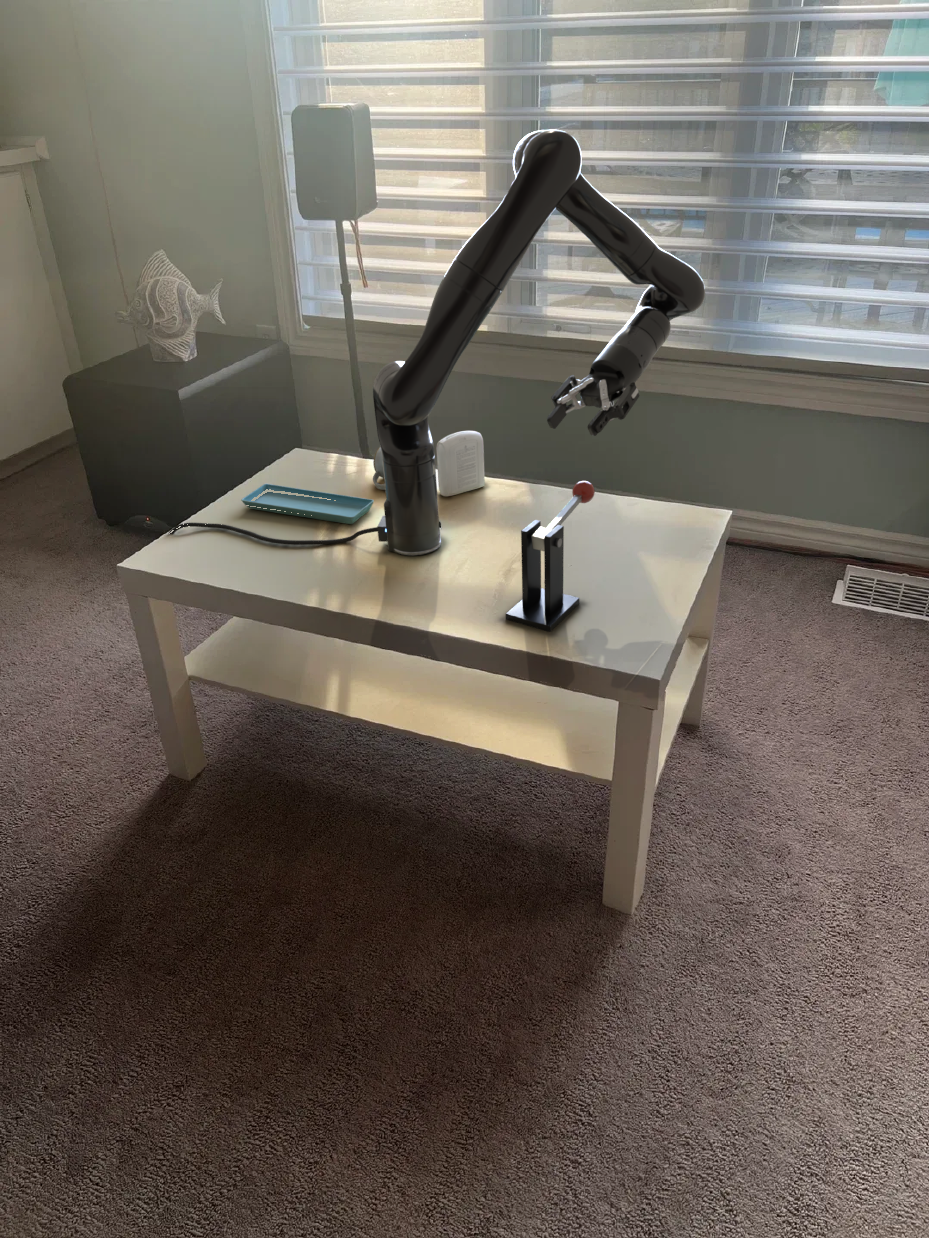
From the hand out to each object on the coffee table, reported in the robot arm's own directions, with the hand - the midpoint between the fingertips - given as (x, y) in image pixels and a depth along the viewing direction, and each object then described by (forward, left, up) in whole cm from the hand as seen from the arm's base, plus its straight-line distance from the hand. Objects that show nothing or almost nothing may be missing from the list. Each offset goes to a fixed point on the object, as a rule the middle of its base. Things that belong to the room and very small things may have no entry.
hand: (570, 428), depth 148 cm
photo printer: (-23, +32, -25) cm, 47 cm away
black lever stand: (-3, -17, -25) cm, 30 cm away
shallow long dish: (-53, +21, -25) cm, 63 cm away
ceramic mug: (-38, +36, -25) cm, 58 cm away
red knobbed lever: (0, -10, -12) cm, 16 cm away
